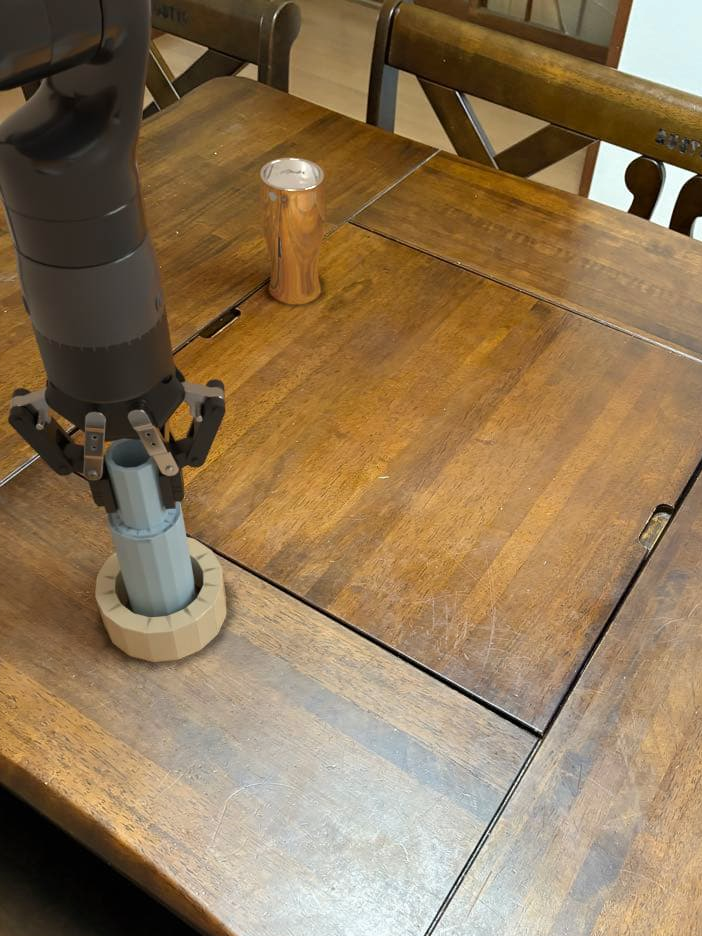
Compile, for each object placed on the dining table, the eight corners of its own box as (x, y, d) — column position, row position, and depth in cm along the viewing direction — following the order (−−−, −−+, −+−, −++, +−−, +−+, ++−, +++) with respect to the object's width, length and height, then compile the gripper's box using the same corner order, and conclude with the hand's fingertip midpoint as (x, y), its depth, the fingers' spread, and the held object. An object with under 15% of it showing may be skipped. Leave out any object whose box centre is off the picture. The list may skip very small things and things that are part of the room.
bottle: (130, 629, 73) (88, 483, 60) (132, 577, 76) (93, 428, 63) (196, 623, 74) (170, 478, 61) (196, 572, 77) (170, 424, 64)
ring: (103, 672, 73) (91, 638, 69) (109, 575, 79) (99, 538, 75) (228, 661, 74) (223, 626, 70) (225, 566, 80) (220, 529, 76)
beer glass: (317, 318, 104) (317, 196, 92) (257, 308, 104) (249, 185, 92) (331, 283, 108) (332, 162, 96) (273, 273, 108) (268, 151, 97)
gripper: (220, 260, 56) (239, 459, 69) (-25, 266, 54) (43, 470, 67) (224, 338, 51) (243, 535, 64) (-45, 348, 49) (33, 550, 62)
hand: (141, 501), depth 65 cm, fingers closed on bottle, 3 cm apart
